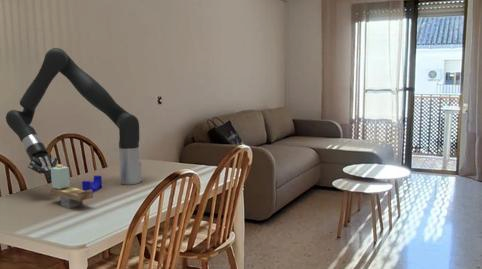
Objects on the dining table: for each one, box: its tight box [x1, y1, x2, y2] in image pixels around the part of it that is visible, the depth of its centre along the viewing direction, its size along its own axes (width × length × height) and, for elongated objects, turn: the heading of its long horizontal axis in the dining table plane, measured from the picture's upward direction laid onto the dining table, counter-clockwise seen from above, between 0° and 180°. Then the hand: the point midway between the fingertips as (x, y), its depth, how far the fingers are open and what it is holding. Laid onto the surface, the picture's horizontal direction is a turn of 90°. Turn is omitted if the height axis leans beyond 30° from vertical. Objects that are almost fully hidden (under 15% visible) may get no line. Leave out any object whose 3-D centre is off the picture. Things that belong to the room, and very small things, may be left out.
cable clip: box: [81, 175, 103, 194], centre depth 206 cm, size 12×4×6 cm, turn 170°
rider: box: [51, 164, 71, 189], centre depth 188 cm, size 5×5×9 cm
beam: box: [49, 186, 94, 209], centre depth 185 cm, size 6×20×7 cm, turn 53°
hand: (52, 179), depth 192 cm, fingers closed
